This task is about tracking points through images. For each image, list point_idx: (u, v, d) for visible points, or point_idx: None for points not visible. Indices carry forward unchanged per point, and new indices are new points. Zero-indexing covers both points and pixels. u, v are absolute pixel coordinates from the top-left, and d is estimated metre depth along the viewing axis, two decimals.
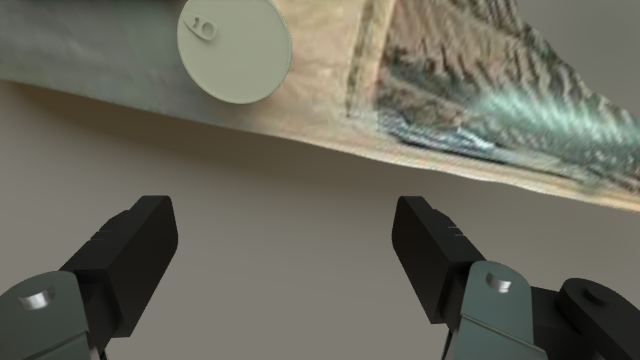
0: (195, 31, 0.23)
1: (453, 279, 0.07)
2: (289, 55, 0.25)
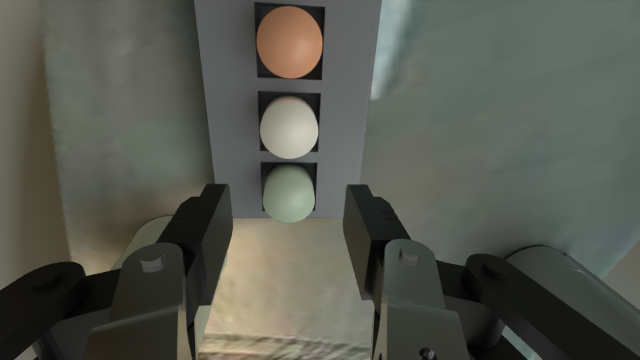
0: None
1: (376, 256, 0.08)
2: None
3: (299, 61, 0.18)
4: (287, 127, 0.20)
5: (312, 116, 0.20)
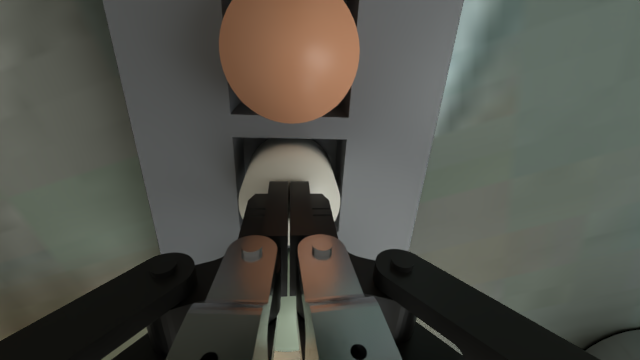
0: None
1: None
2: None
3: (309, 89, 0.09)
4: None
5: (330, 179, 0.11)
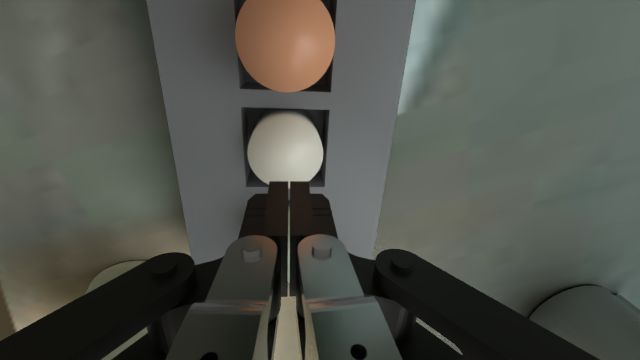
0: None
1: None
2: None
3: (299, 66, 0.12)
4: (283, 149, 0.15)
5: (315, 135, 0.15)
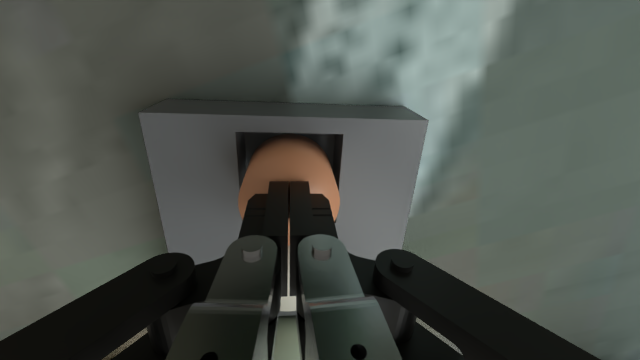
0: None
1: None
2: None
3: None
4: None
5: None
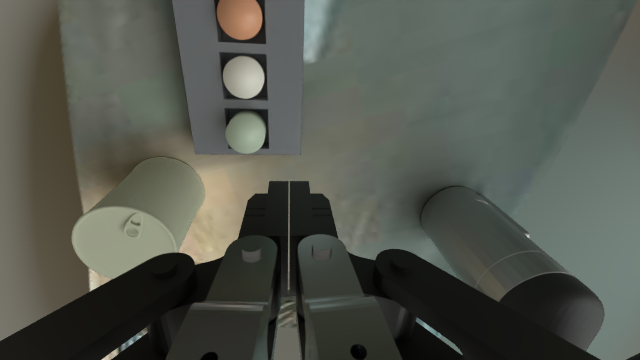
0: (128, 222, 0.27)
1: None
2: None
3: (246, 27, 0.28)
4: (241, 75, 0.29)
5: (258, 67, 0.29)
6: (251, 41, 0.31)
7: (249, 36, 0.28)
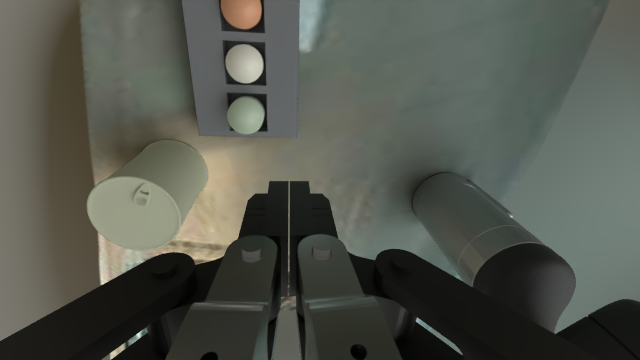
0: (137, 192, 0.29)
1: None
2: (140, 249, 0.32)
3: (247, 17, 0.30)
4: (242, 61, 0.32)
5: (258, 54, 0.32)
6: (252, 31, 0.34)
7: (249, 25, 0.31)
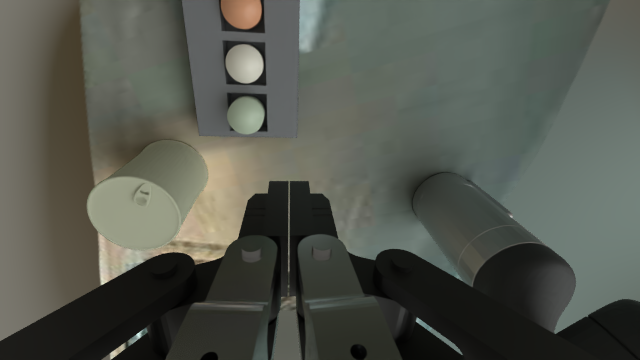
0: (137, 192, 0.29)
1: None
2: (140, 249, 0.32)
3: (247, 17, 0.31)
4: (242, 61, 0.32)
5: (258, 54, 0.32)
6: (252, 31, 0.34)
7: (249, 25, 0.31)
